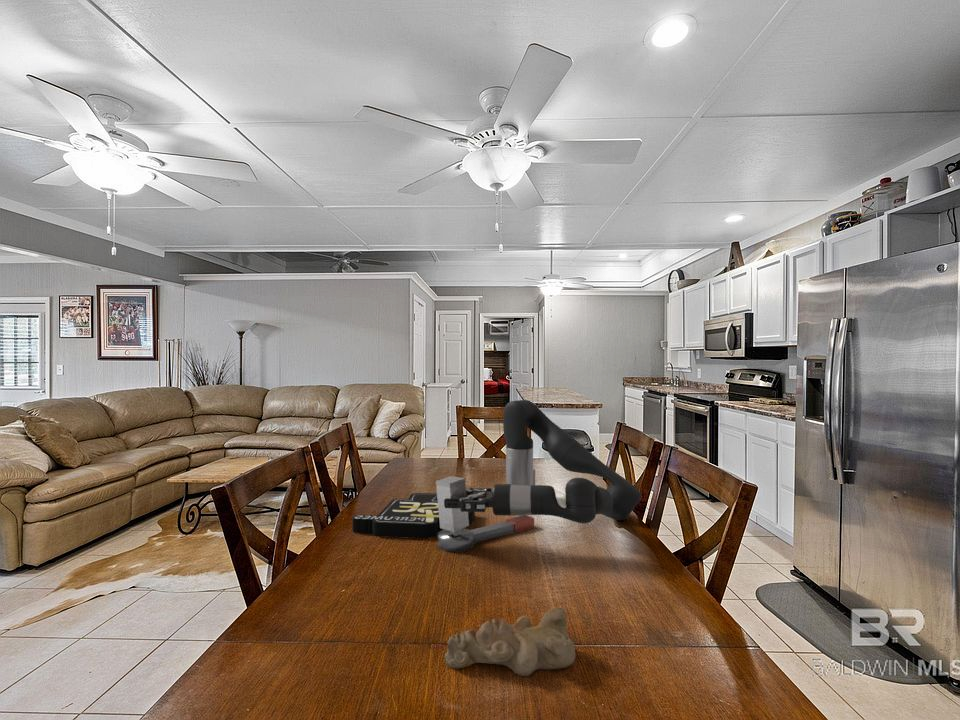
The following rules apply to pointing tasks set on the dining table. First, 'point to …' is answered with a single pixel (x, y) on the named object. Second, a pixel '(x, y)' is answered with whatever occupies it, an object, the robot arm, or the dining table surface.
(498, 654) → the figurine
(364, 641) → the dining table surface
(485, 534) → the ratchet
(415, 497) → the sign
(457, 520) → the brushed aluminum block
